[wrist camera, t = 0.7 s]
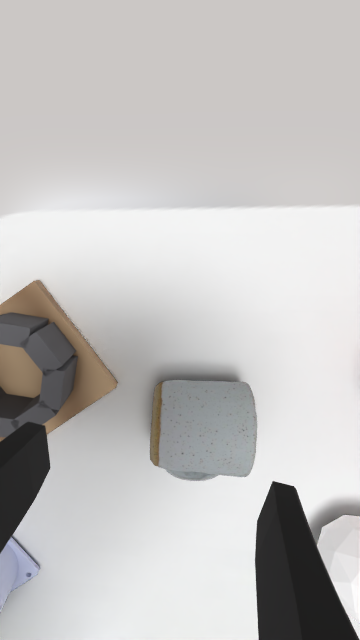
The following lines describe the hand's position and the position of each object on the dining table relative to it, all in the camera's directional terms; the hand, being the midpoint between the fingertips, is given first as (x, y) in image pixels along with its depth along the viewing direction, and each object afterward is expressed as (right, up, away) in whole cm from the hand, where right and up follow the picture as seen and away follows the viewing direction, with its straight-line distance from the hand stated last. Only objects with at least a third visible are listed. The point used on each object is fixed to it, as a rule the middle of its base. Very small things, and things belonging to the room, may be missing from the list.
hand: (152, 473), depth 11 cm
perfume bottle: (+15, -17, +24) cm, 33 cm away
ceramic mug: (+2, -4, +21) cm, 22 cm away
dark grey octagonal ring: (-12, +1, +18) cm, 21 cm away
